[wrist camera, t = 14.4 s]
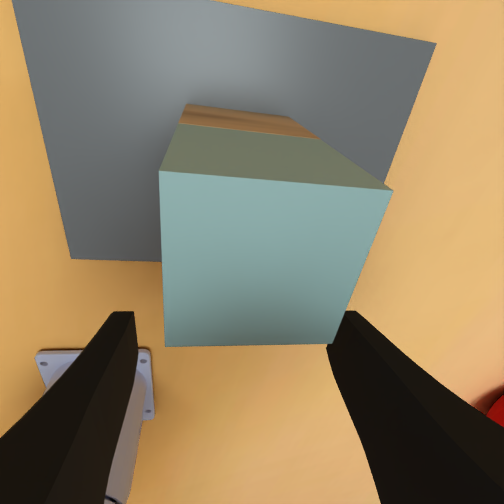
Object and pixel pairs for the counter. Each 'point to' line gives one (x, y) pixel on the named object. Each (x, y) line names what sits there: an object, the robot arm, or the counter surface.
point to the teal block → (261, 237)
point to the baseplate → (194, 97)
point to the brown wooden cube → (243, 121)
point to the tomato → (497, 411)
